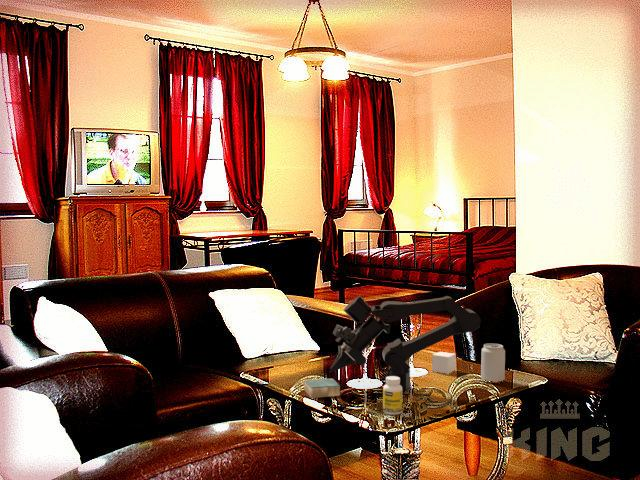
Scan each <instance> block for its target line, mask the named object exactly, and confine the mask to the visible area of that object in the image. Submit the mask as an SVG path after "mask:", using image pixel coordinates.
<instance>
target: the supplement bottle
mask: <svg viewBox="0 0 640 480" xmlns="http://www.w3.org/2000/svg"><path fill="white" fill-rule="evenodd" d="M386 383H387V384H386ZM399 384H400V378H399V377H397V376H388V377H386V376H385V384H384V385H383V388H382V412H383V413H384V414H386V415H393V416H394V415H400V414H401V413H402V412H403V393H402V386H401V385H399Z"/></svg>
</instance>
